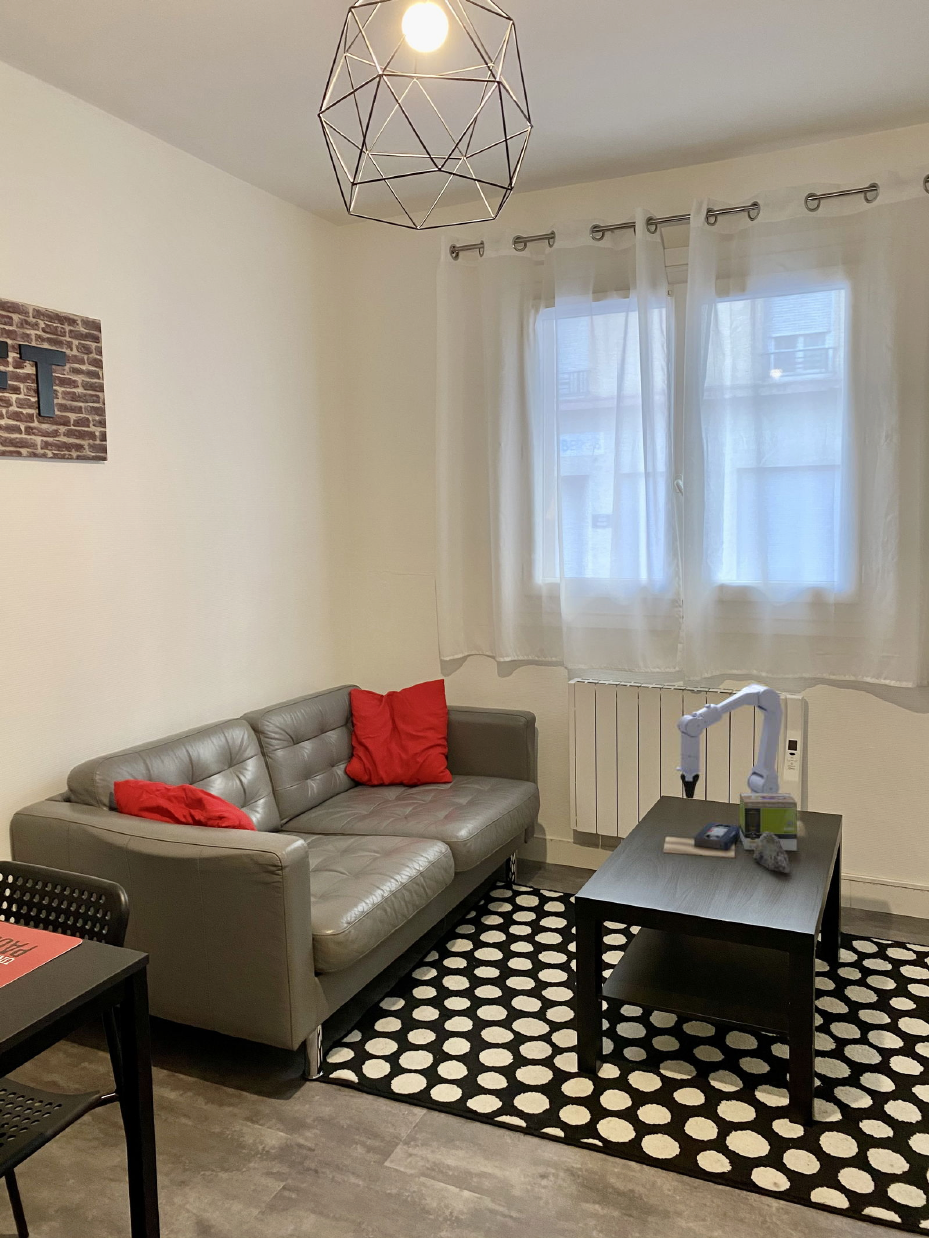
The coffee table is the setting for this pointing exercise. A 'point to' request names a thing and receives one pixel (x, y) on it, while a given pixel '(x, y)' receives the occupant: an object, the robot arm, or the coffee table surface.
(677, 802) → the coffee table surface
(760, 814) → the tea box
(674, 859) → the coffee table surface
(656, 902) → the coffee table surface
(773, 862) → the mineral rock
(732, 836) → the vhs cassette tape
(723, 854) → the wooden board
